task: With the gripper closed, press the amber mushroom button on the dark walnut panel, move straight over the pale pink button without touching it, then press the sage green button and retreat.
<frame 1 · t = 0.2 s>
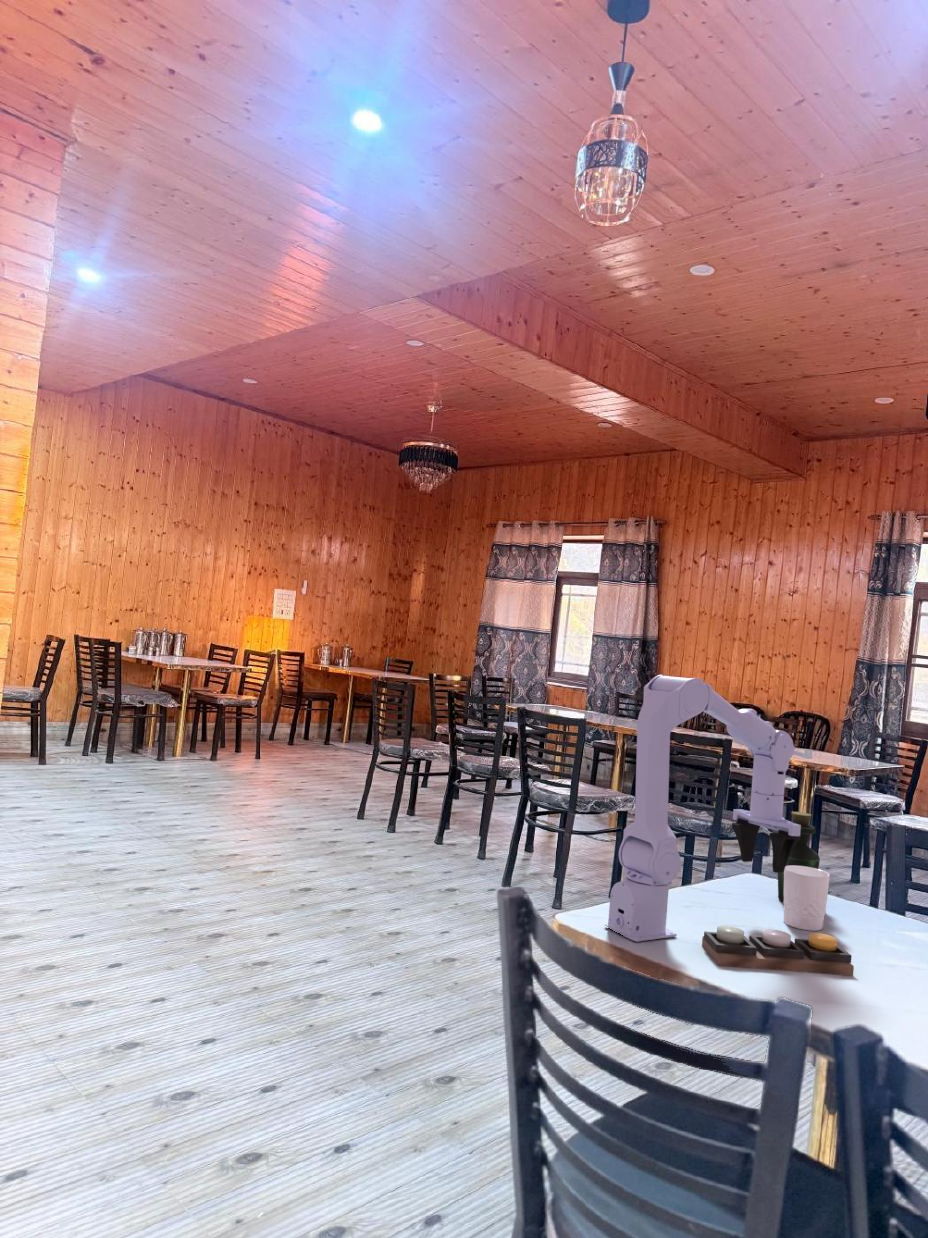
hand: (762, 866, 160), 10 cm above the table, fingers open, 7 cm apart
sage button: (730, 934, 138), point 3 cm above the table, slide at 0.0 cm
amber button: (822, 941, 138), point 4 cm above the table, slide at 0.0 cm
pale pink button: (776, 938, 138), point 4 cm above the table, slide at 0.0 cm
white cup: (803, 926, 159), on the table
button panel: (775, 960, 138), on the table
potion bottle: (795, 903, 175), on the table
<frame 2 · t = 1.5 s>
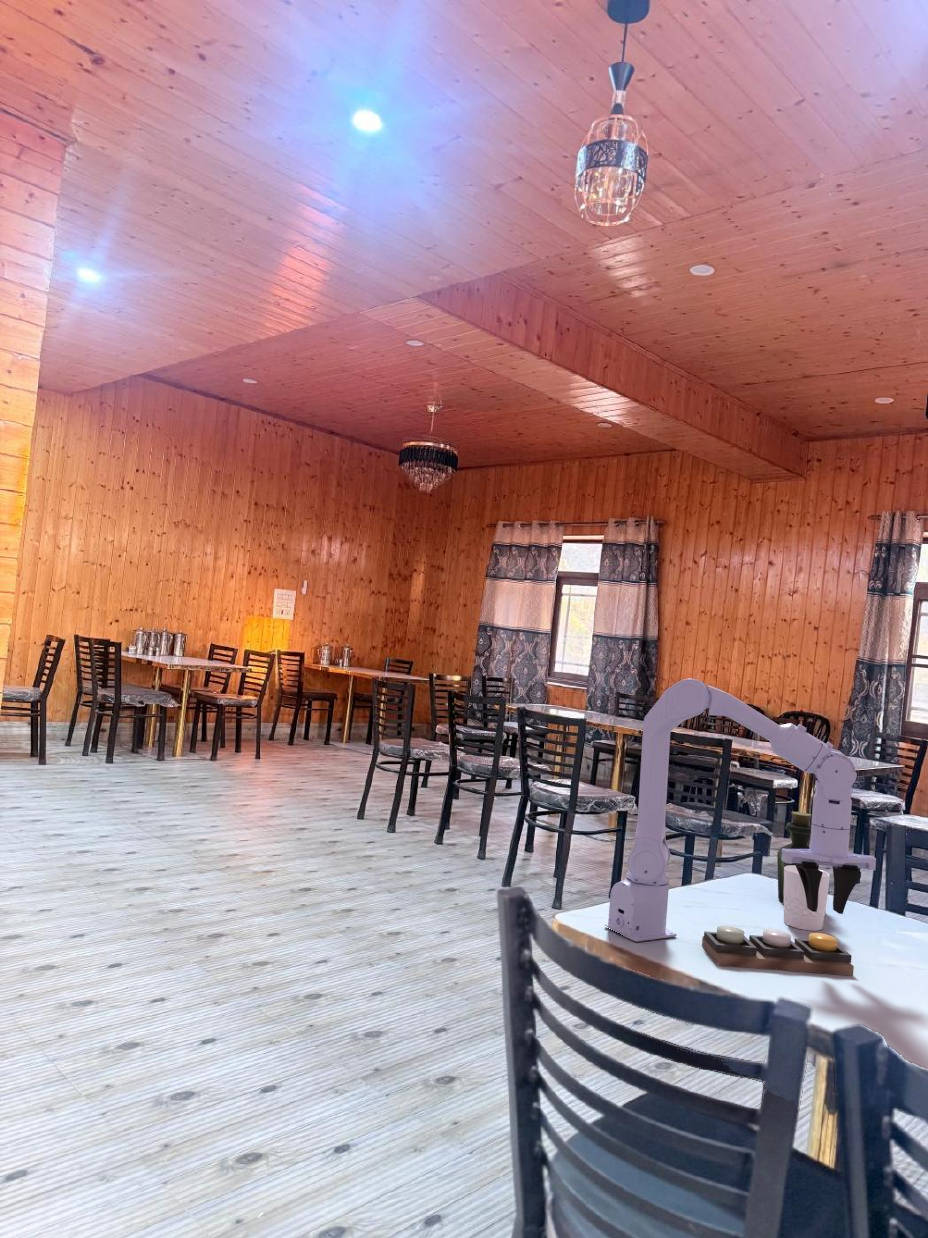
hand: (824, 911, 138), 8 cm above the table, fingers open, 4 cm apart
nothing on the table moved.
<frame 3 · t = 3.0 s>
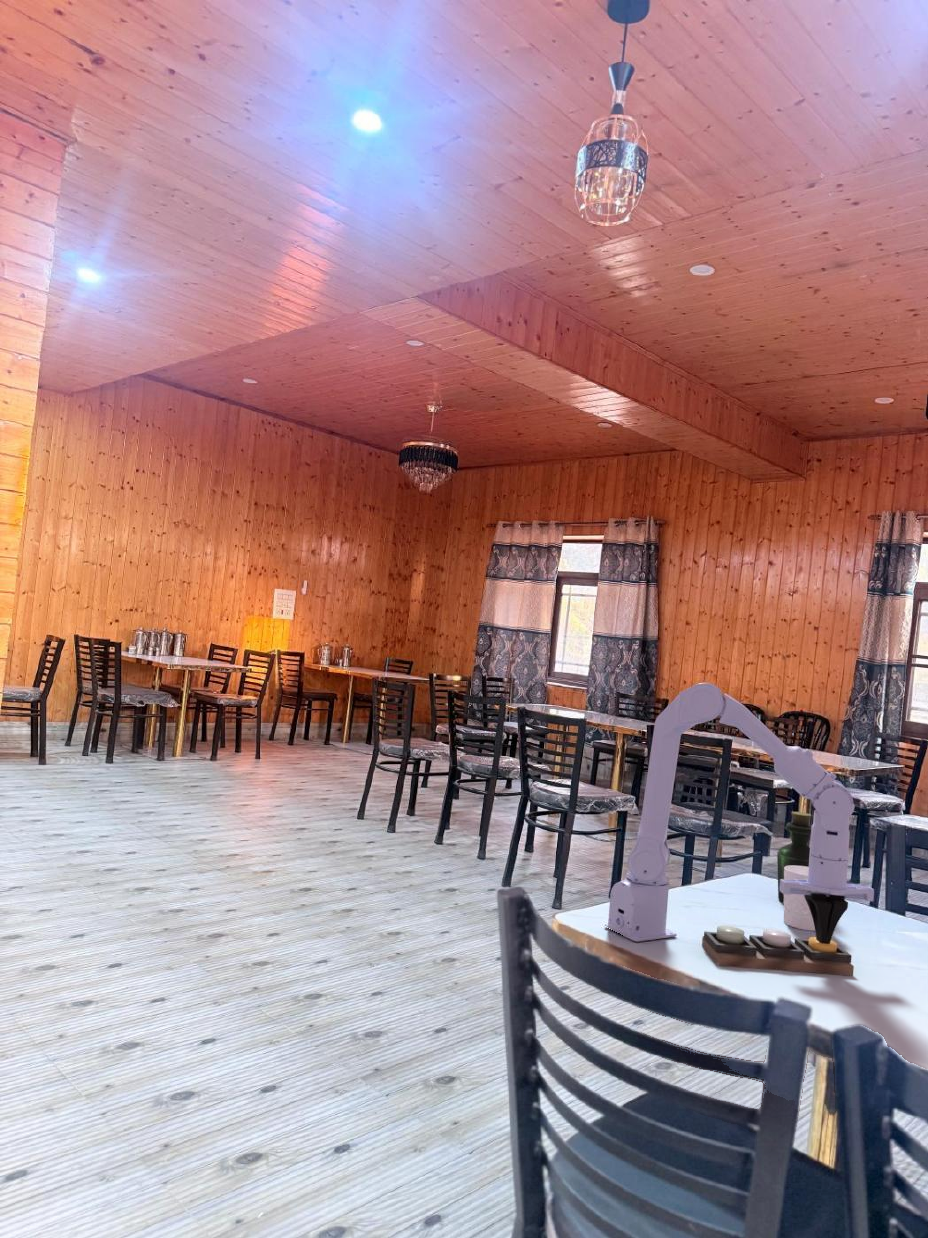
hand: (823, 942, 138), 3 cm above the table, fingers closed, pressing on amber button
amber button: (822, 946, 138), point 3 cm above the table, slide at 0.7 cm, touching gripper
everything else where it was.
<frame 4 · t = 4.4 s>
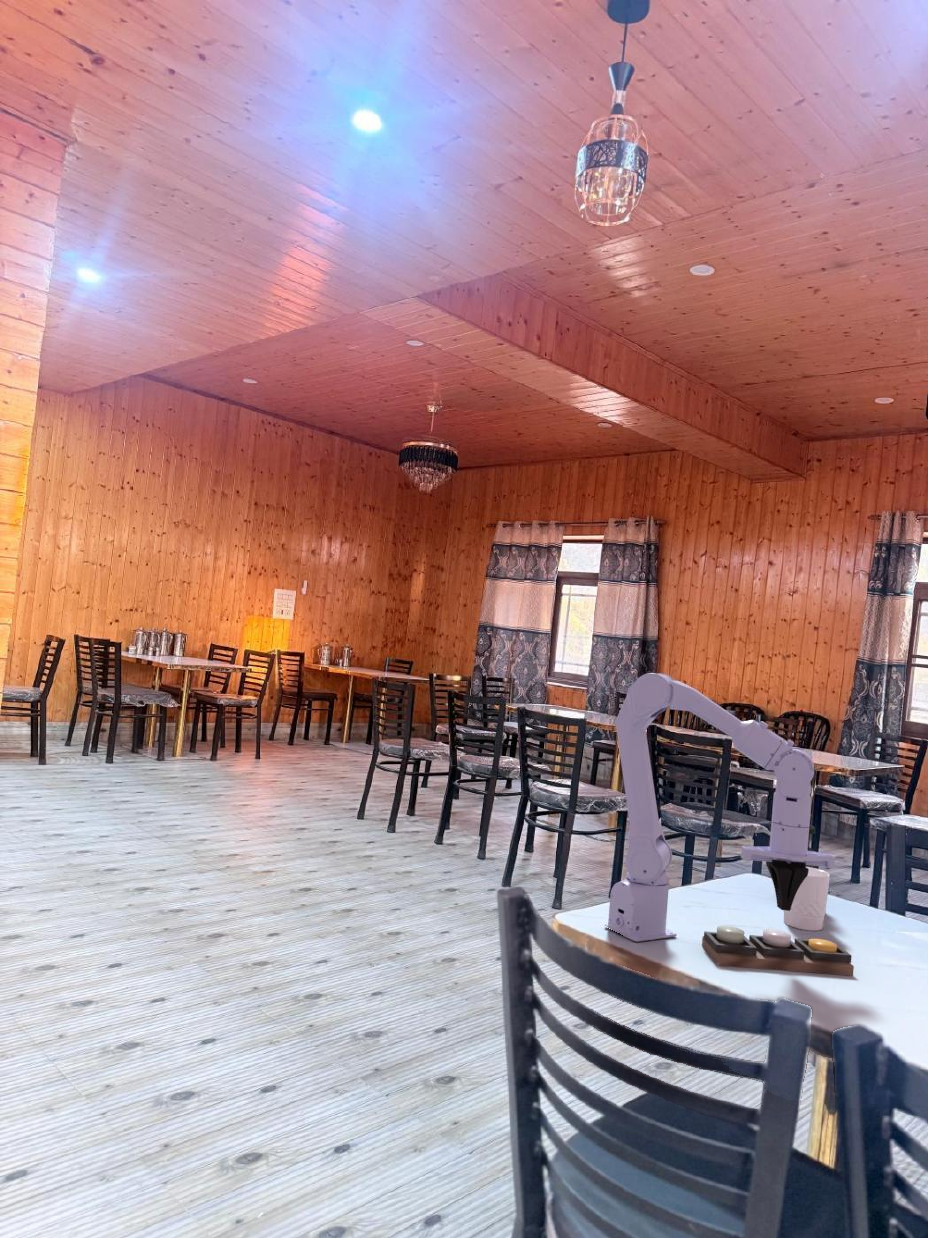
hand: (783, 908, 138), 8 cm above the table, fingers closed
amber button: (822, 947, 138), point 3 cm above the table, slide at 0.9 cm
everything else where it was.
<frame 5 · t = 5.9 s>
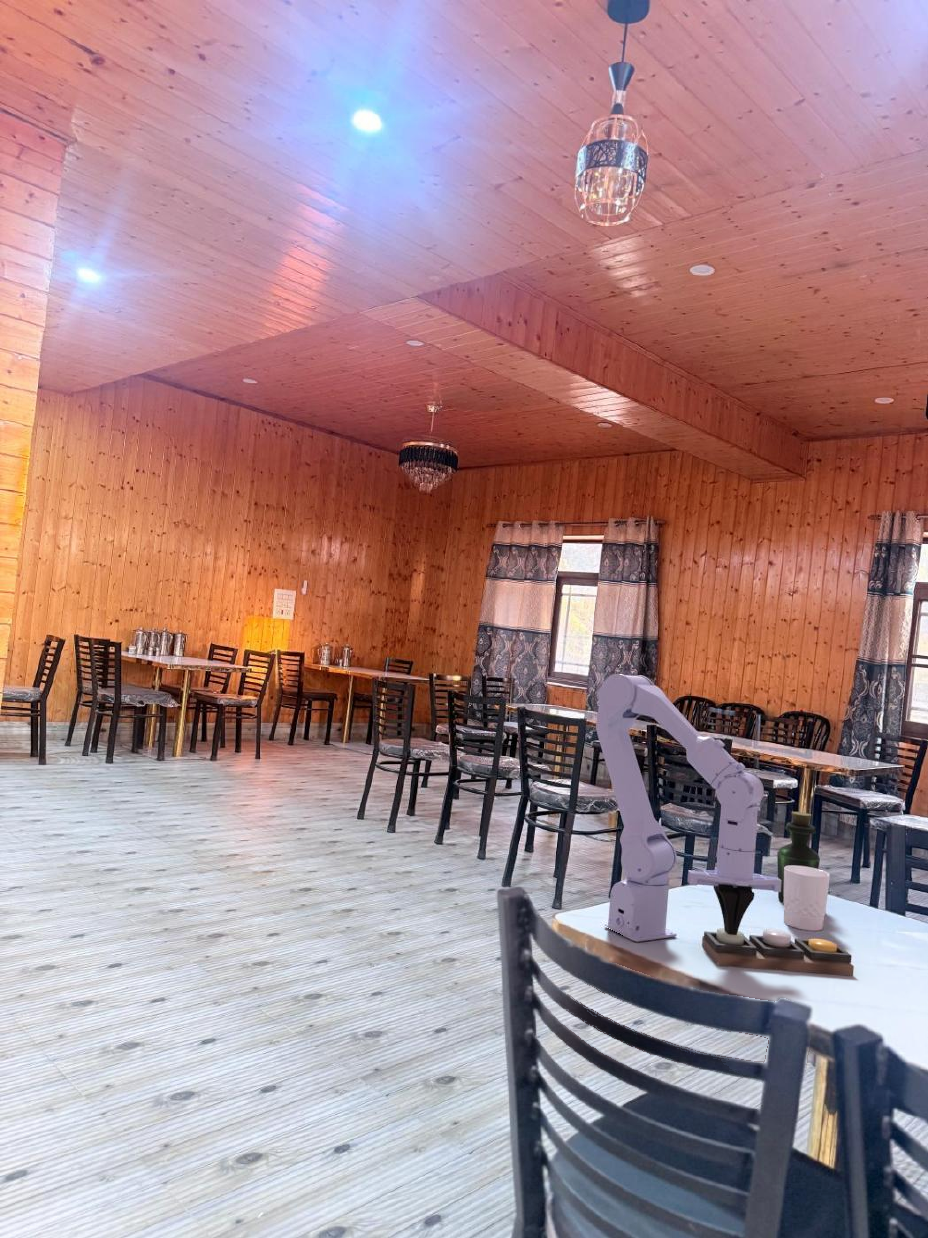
hand: (730, 933, 138), 4 cm above the table, fingers closed, pressing on sage button
sage button: (730, 937, 138), point 3 cm above the table, slide at 0.4 cm, touching gripper
everything else where it was.
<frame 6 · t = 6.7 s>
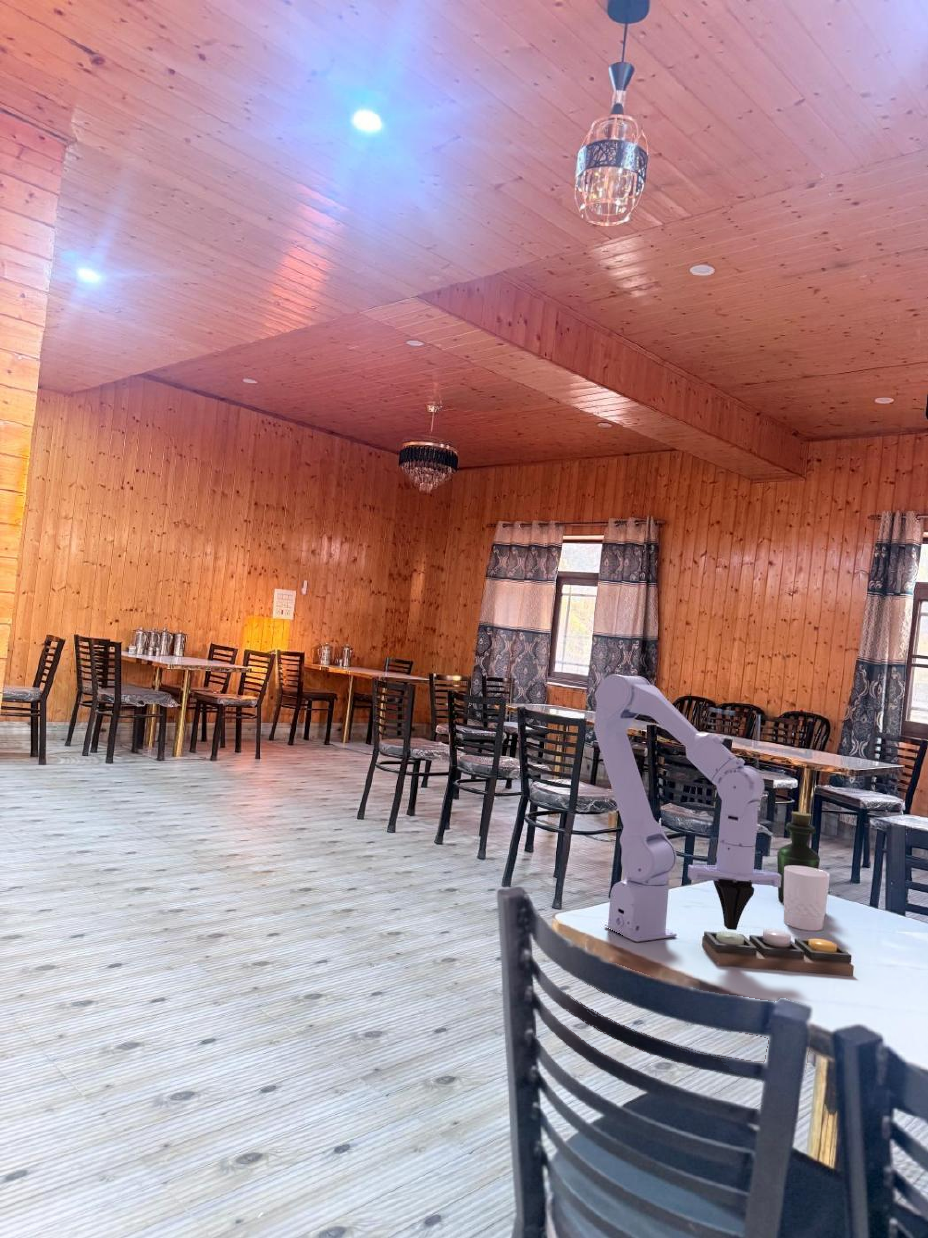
hand: (730, 927, 138), 5 cm above the table, fingers closed
sage button: (729, 940, 138), point 3 cm above the table, slide at 0.9 cm
everything else where it was.
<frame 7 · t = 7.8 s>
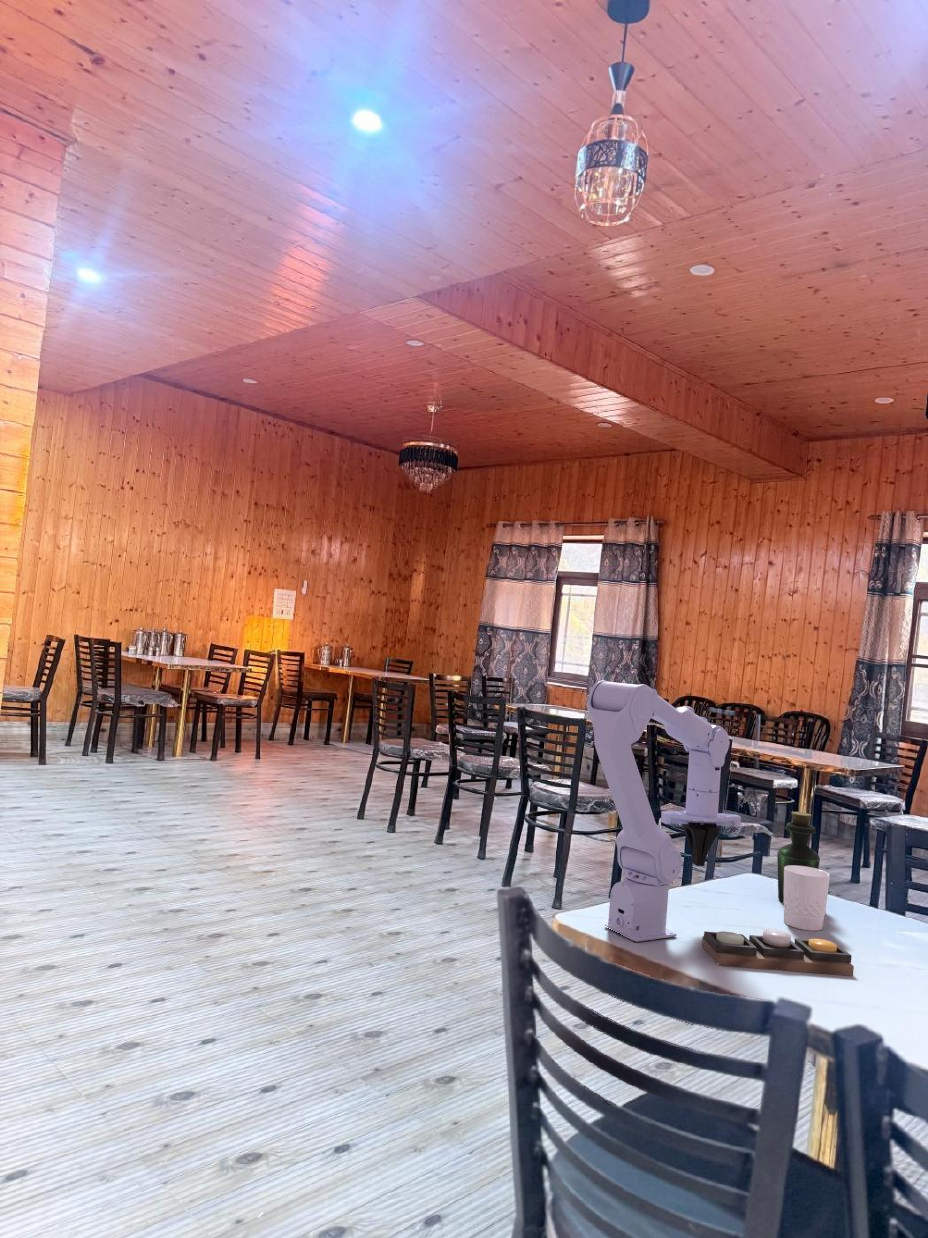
hand: (698, 864, 156), 10 cm above the table, fingers closed
nothing on the table moved.
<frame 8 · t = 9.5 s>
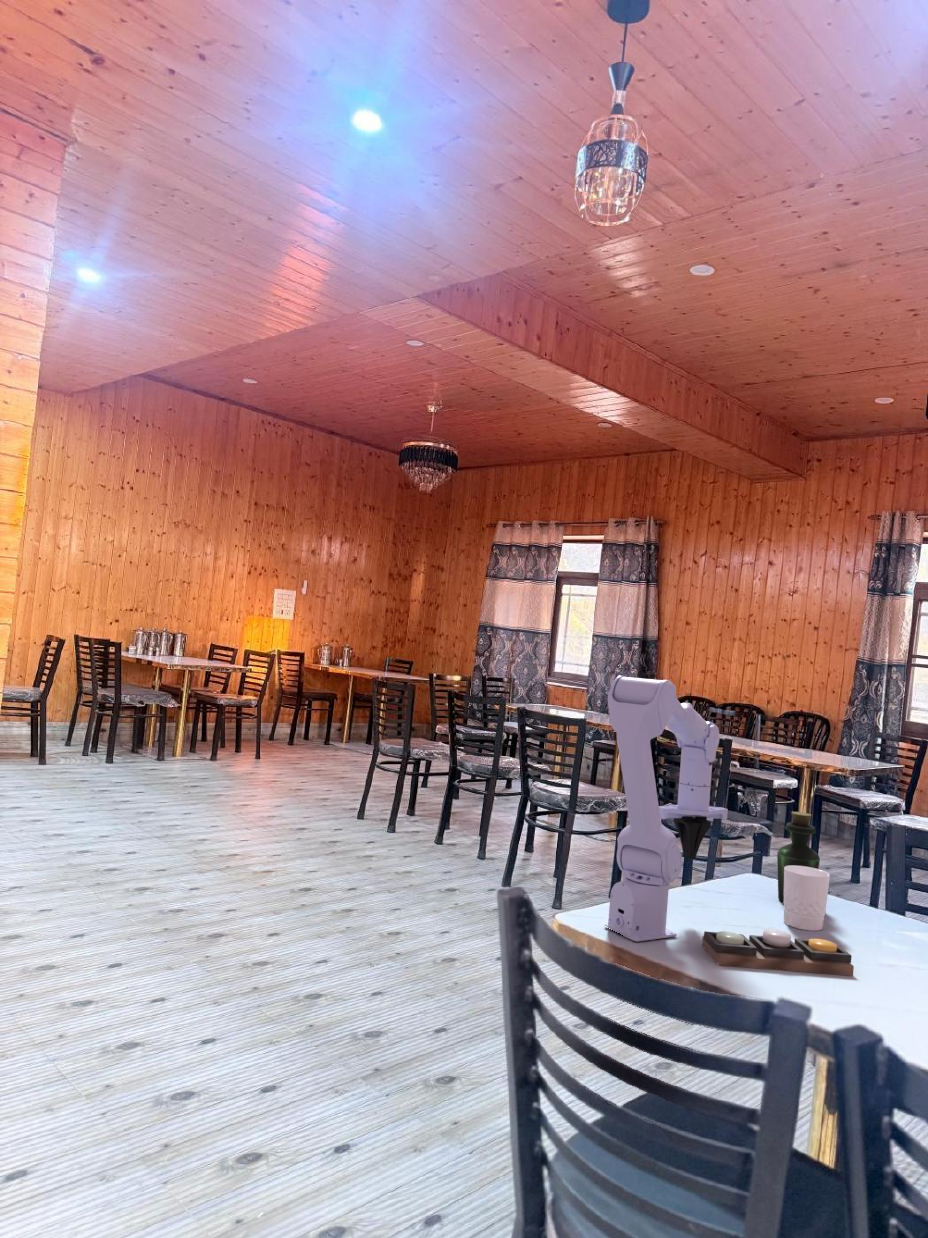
hand: (689, 857, 160), 10 cm above the table, fingers closed
nothing on the table moved.
at the end: amber button slide at 0.9 cm; sage button slide at 0.9 cm; pale pink button slide at 0.0 cm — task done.
